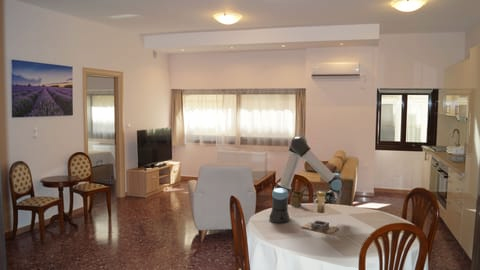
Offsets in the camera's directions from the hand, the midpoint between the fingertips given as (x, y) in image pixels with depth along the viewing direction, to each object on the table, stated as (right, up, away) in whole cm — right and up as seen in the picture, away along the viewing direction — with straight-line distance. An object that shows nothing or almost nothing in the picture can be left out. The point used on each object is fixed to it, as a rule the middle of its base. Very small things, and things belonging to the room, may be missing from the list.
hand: (318, 202), depth 271 cm
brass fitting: (+3, -7, +5) cm, 9 cm away
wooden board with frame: (+2, -19, +6) cm, 20 cm away
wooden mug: (-4, -14, +69) cm, 71 cm away
